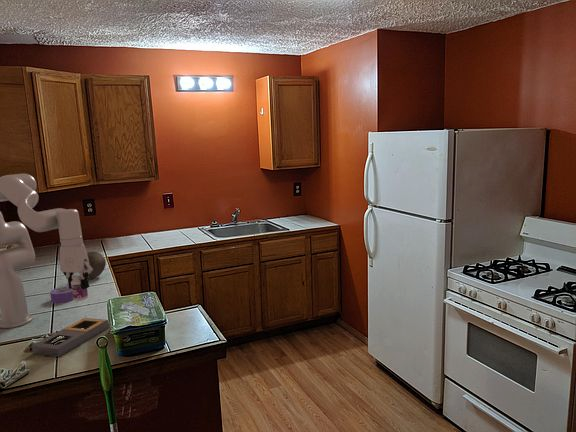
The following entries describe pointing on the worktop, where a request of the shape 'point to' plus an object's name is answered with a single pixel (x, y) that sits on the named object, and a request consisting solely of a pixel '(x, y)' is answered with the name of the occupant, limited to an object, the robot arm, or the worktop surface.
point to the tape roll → (61, 295)
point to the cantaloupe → (96, 264)
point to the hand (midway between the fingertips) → (79, 287)
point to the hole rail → (70, 337)
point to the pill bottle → (78, 288)
